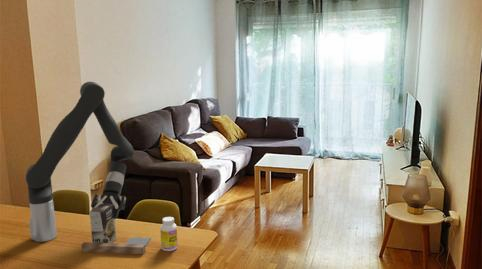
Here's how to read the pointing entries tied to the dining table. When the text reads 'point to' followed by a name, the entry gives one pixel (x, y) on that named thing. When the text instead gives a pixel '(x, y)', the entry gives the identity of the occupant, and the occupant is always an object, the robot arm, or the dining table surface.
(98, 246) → the walnut fence
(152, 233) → the dining table surface
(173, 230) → the supplement bottle
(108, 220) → the coffee box
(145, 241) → the end mat
